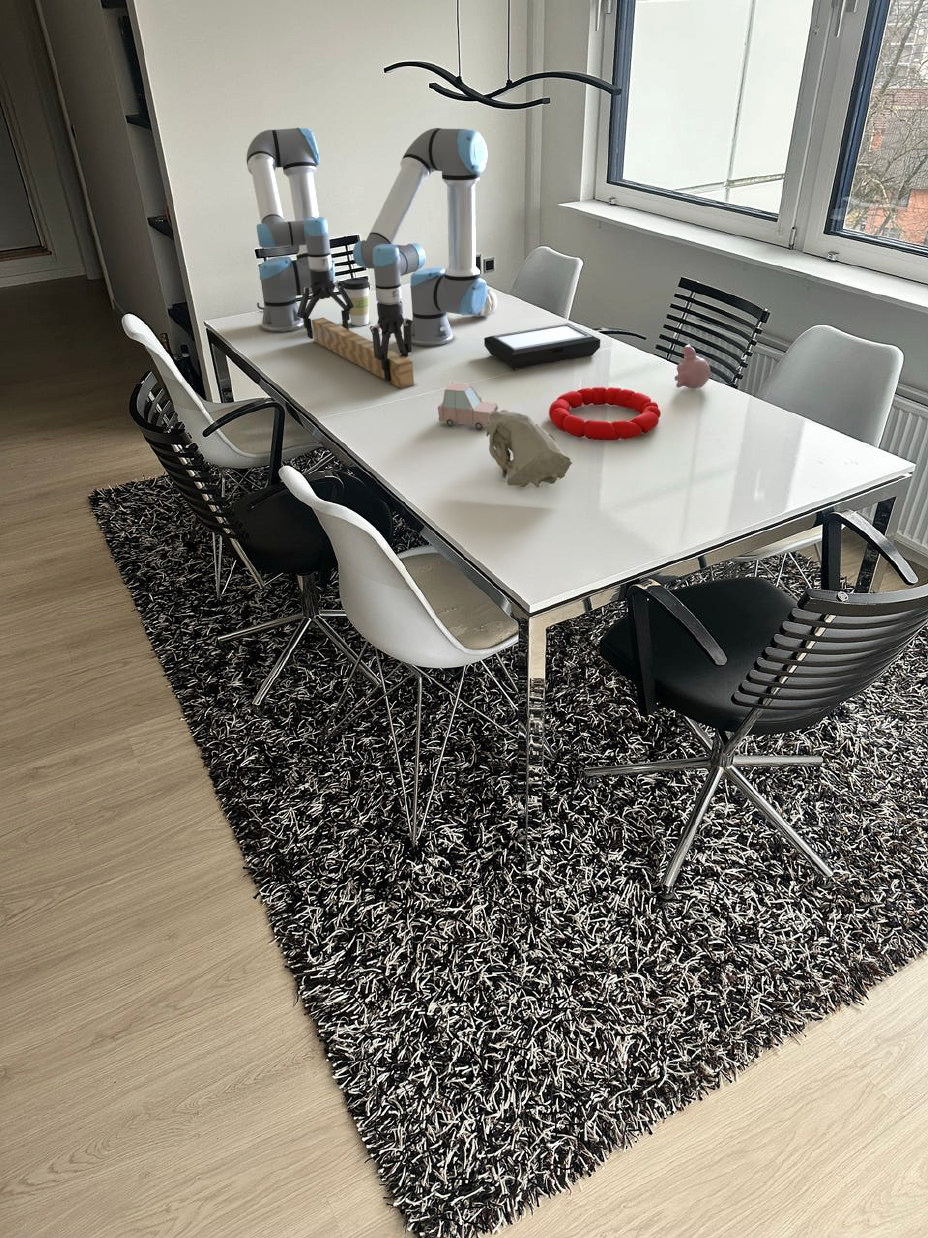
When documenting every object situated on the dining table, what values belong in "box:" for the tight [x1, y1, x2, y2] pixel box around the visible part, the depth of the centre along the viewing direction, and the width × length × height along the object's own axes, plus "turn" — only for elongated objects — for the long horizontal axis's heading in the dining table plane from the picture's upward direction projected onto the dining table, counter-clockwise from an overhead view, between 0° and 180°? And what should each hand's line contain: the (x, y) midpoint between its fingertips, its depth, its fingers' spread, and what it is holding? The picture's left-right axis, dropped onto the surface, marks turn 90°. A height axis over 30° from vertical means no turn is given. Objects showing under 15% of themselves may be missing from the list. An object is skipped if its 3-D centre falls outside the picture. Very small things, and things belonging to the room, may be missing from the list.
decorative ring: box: [548, 386, 661, 442], centre depth 242 cm, size 7×30×30 cm
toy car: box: [437, 382, 499, 431], centre depth 243 cm, size 9×15×10 cm, turn 70°
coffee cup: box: [343, 277, 371, 327], centre depth 323 cm, size 10×10×15 cm
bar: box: [311, 317, 415, 389], centre depth 290 cm, size 59×4×7 cm, turn 34°
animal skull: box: [485, 409, 573, 489], centre depth 216 cm, size 17×25×20 cm
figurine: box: [674, 344, 711, 390], centre depth 259 cm, size 9×11×12 cm
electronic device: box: [483, 322, 601, 371], centre depth 289 cm, size 32×6×20 cm
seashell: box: [472, 288, 498, 318], centre depth 327 cm, size 10×15×10 cm
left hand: (328, 333), depth 305 cm, fingers open, 13 cm apart
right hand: (395, 378), depth 276 cm, fingers closed on bar, 5 cm apart
